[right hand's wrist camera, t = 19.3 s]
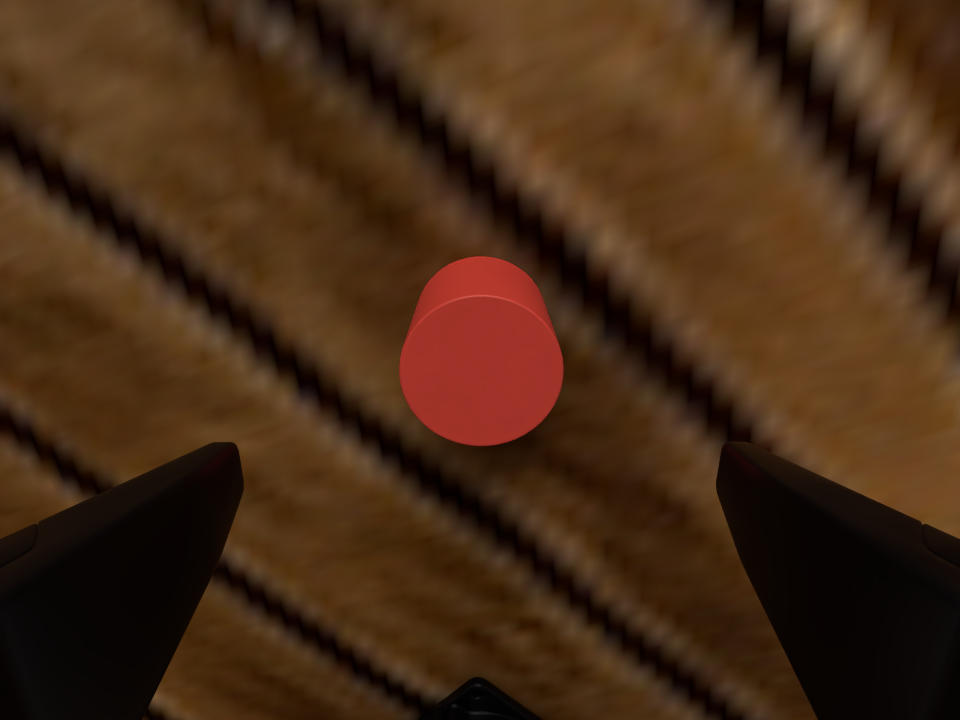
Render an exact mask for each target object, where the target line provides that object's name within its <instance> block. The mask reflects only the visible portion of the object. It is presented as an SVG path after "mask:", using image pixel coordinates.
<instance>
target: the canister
mask: <svg viewBox="0 0 960 720" xmlns="http://www.w3.org/2000/svg"><path fill="white" fill-rule="evenodd" d="M563 370H564V367H563V357H562V354H561V350H560V346H559V343H558V340H557V338H556V335H555V332H554V329H553V326H552V323H551V320H550V317H549V315H548V312H547V309H546V306H545V303H544V300H543V298H542V295H541V293H540V291H539V289H538V287H537V286H536V284H535V283H534V282H533V280H532V279H531V278H530V277H529V276H528V275H527V274H526V273H525V272H524V271H522V270H521V269H520V268H518V267H517V266H515V265H513V264H511V263H509V262H507V261H504V260H501V259H497V258H493V257H470V258H465V259H461V260H458V261H456V262H453V263H451V264H449V265H447V266H446V267H444V268H442V269H441V270H440V271H439V272H437V273H436V274H435V275H434V276H433V277H432V278H431V279H430V281H429V282H428V283H427V285H426V286H425V288H424V290H423V291H422V293H421V296H420V298H419V301H418V304H417V307H416V310H415V313H414V316H413V319H412V322H411V325H410V328H409V331H408V334H407V337H406V340H405V343H404V346H403V349H402V353H401V357H400V366H399V375H400V383H401V388H402V391H403V394H404V397H405V399H406V401H407V403H408V405H409V407H410V408H411V410H412V411H413V413H414V414H415V415H416V417H417V418H418V419H419V420H420V421H421V422H422V423H423V424H424V425H425V426H427V427H428V428H429V429H430V430H432V431H433V432H435V433H436V434H438V435H439V436H442V437H444V438H446V439H448V440H451V441H454V442H456V443H460V444H465V445H472V446H491V445H498V444H502V443H506V442H509V441H512V440H515V439H517V438H519V437H521V436H523V435H525V434H527V433H528V432H530V431H531V430H532V429H534V428H535V427H536V426H537V425H538V424H540V423H541V422H542V421H543V420H544V418H545V417H546V416H547V415H548V414H549V412H550V411H551V409H552V408H553V406H554V405H555V403H556V401H557V399H558V396H559V393H560V390H561V387H562V382H563Z"/></svg>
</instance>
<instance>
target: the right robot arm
mask: <svg viewBox="0 0 960 720" xmlns="http://www.w3.org/2000/svg"><path fill="white" fill-rule="evenodd" d="M243 490H244V479H243V473H242V468H241V462H240V456H239V450H238V448H237V445H236V444H235V443H232V442H213V443H210V444H208V445H206V446H203V447H201V448H199V449H197V450H195V451H192V452H190V453H188V454H186V455H184V456H182V457H179V458H177V459H175V460H173V461H171V462H168V463H166V464H164V465H162V466H160V467H157V468H155V469H153V470H151V471H149V472H147V473H144V474H142V475H140V476H138V477H136V478H133V479H131V480H129V481H127V482H125V483H122V484H120V485H118V486H116V487H114V488H112V489H109V490H107V491H105V492H103V493H101V494H98V495H96V496H94V497H92V498H90V499H88V500H85V501H83V502H81V503H79V504H77V505H74V506H72V507H70V508H68V509H66V510H63V511H61V512H59V513H57V514H55V515H53V516H50V517H48V518H46V519H44V520H42V521H40V522H39V523H38V525H37V524H33V525H30V526H28V527H26V528H24V529H22V530H20V531H17V532H15V533H13V534H11V535H8V536H6V537H4V538H2V539H0V720H142V719H143V717H144V715H145V712H146V710H147V708H148V706H149V704H150V702H151V700H152V698H153V696H154V694H155V692H156V690H157V688H158V686H159V684H160V682H161V680H162V678H163V676H164V674H165V672H166V669H167V667H168V665H169V663H170V661H171V659H172V657H173V655H174V653H175V651H176V649H177V647H178V645H179V643H180V641H181V639H182V637H183V635H184V633H185V631H186V629H187V626H188V624H189V622H190V620H191V618H192V616H193V614H194V612H195V610H196V608H197V606H198V604H199V602H200V600H201V598H202V596H203V594H204V592H205V590H206V588H207V586H208V583H209V581H210V579H211V577H212V575H213V573H214V571H215V569H216V567H217V564H218V562H219V560H220V557H221V554H222V552H223V549H224V546H225V543H226V540H227V538H228V535H229V532H230V529H231V526H232V523H233V520H234V517H235V515H236V512H237V509H238V506H239V503H240V500H241V497H242V494H243ZM716 490H717V494H718V497H719V500H720V503H721V506H722V509H723V512H724V515H725V517H726V520H727V523H728V526H729V529H730V532H731V535H732V538H733V540H734V543H735V546H736V549H737V552H738V554H739V557H740V560H741V562H742V564H743V567H744V569H745V571H746V573H747V575H748V577H749V579H750V581H751V583H752V586H753V588H754V590H755V592H756V594H757V596H758V598H759V600H760V602H761V604H762V606H763V608H764V610H765V612H766V614H767V616H768V618H769V620H770V622H771V624H772V626H773V629H774V631H775V633H776V635H777V637H778V639H779V641H780V643H781V645H782V647H783V649H784V651H785V653H786V655H787V657H788V659H789V661H790V663H791V665H792V667H793V669H794V672H795V674H796V676H797V678H798V680H799V682H800V684H801V686H802V688H803V690H804V692H805V694H806V696H807V698H808V700H809V702H810V704H811V706H812V708H813V710H814V712H815V715H816V717H817V719H818V720H960V539H958V538H956V537H954V536H952V535H949V534H947V533H945V532H943V531H940V530H938V529H936V528H934V527H932V526H930V525H927V524H923V525H922V523H921V522H920V521H918V520H916V519H914V518H912V517H910V516H907V515H905V514H903V513H901V512H899V511H897V510H894V509H892V508H890V507H888V506H886V505H883V504H881V503H879V502H877V501H875V500H872V499H870V498H868V497H866V496H864V495H862V494H859V493H857V492H855V491H853V490H851V489H848V488H846V487H844V486H842V485H840V484H838V483H835V482H833V481H831V480H829V479H827V478H824V477H822V476H820V475H818V474H816V473H813V472H811V471H809V470H807V469H805V468H803V467H800V466H798V465H796V464H794V463H792V462H789V461H787V460H785V459H783V458H781V457H778V456H776V455H774V454H772V453H770V452H768V451H765V450H763V449H761V448H759V447H757V446H754V445H752V444H750V443H747V442H728V443H725V444H724V445H723V448H722V450H721V456H720V462H719V468H718V473H717V479H716ZM418 720H541V719H540V718H539V717H537V716H536V715H534V714H533V713H532V712H530V711H529V710H527V709H526V708H525V707H523V706H522V705H521V704H519V703H518V702H516V701H515V700H514V699H512V698H511V697H509V696H508V695H507V694H505V693H504V692H502V691H501V690H500V689H498V688H497V687H495V686H494V685H493V684H491V683H490V682H488V681H487V680H485V679H483V678H479V677H476V678H472V679H470V680H468V681H467V682H466V683H465V684H463V685H462V686H461V687H459V688H458V689H457V690H455V691H454V692H453V693H452V694H450V695H449V696H448V697H446V698H445V699H444V700H442V701H441V702H440V703H439V704H437V705H436V706H435V707H433V708H432V709H431V710H429V711H428V712H427V713H426V714H424V715H423V716H422V717H420V718H419V719H418Z"/></svg>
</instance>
